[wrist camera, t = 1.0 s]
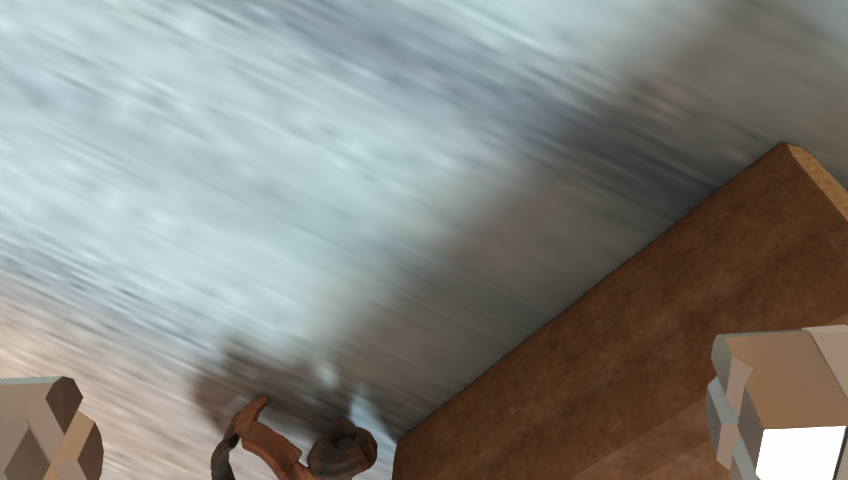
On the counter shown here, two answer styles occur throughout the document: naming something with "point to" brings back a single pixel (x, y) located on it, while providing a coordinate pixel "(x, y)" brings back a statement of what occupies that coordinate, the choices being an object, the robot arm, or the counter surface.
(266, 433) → the pottery mug
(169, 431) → the counter surface
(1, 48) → the counter surface
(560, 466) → the bread
